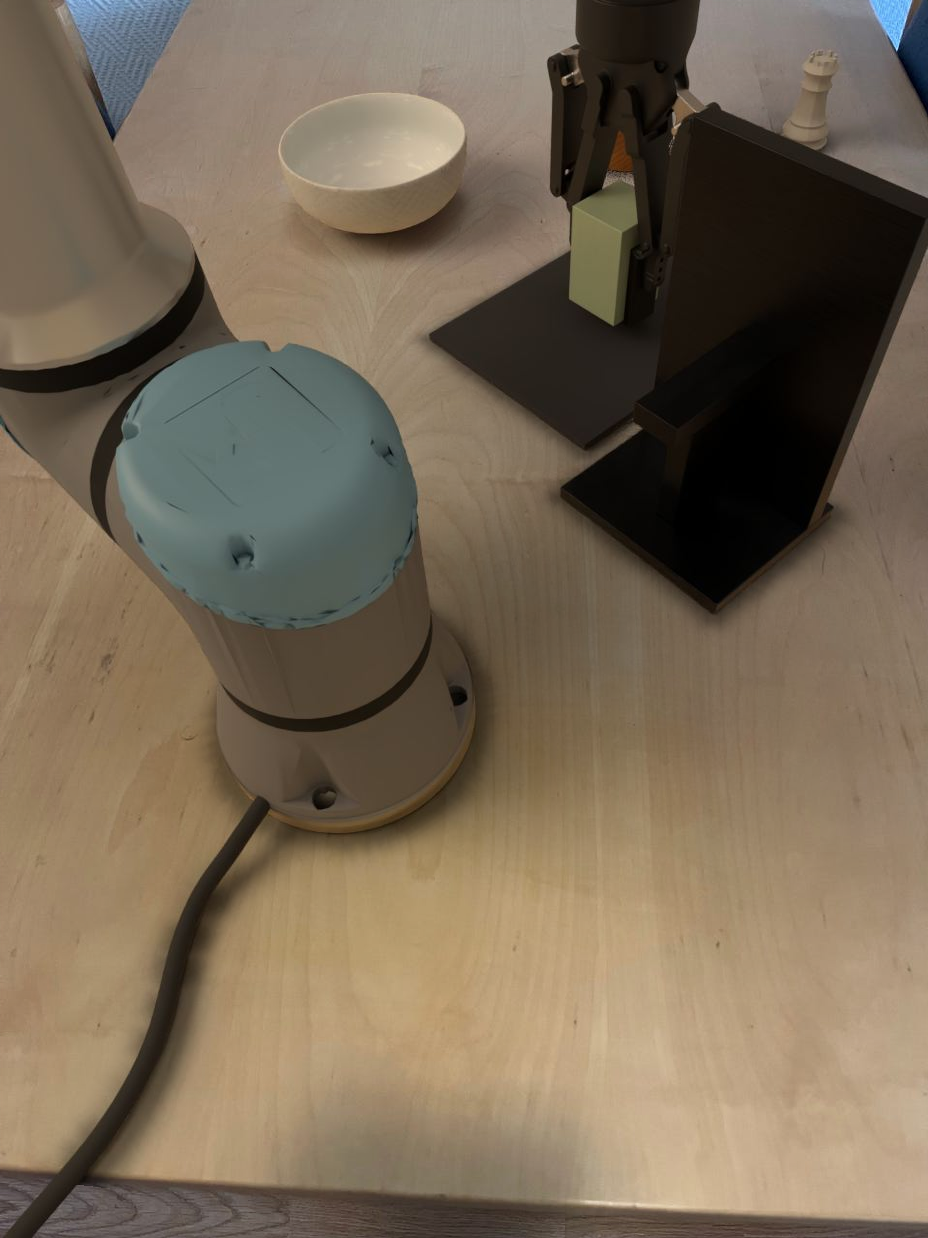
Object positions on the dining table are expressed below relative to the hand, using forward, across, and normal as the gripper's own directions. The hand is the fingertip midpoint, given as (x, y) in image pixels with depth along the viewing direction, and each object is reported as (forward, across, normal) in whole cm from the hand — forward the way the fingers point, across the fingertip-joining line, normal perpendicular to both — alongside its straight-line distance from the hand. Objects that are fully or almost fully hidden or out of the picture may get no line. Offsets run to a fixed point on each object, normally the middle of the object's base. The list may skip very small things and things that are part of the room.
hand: (612, 301), depth 73 cm
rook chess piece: (+2, +6, -33) cm, 34 cm away
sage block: (0, 0, 0) cm, 0 cm away
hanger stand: (+2, -18, +11) cm, 21 cm away
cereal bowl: (+2, +27, +3) cm, 27 cm away
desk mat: (+2, 0, 0) cm, 2 cm away
